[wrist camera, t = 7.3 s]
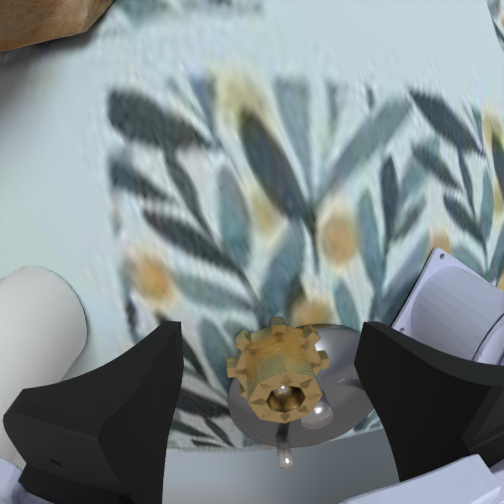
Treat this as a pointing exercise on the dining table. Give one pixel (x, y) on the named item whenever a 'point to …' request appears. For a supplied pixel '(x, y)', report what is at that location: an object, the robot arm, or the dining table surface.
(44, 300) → the alcohol
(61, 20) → the stone cup
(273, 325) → the planet gear
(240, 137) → the dining table surface
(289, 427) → the carrier
